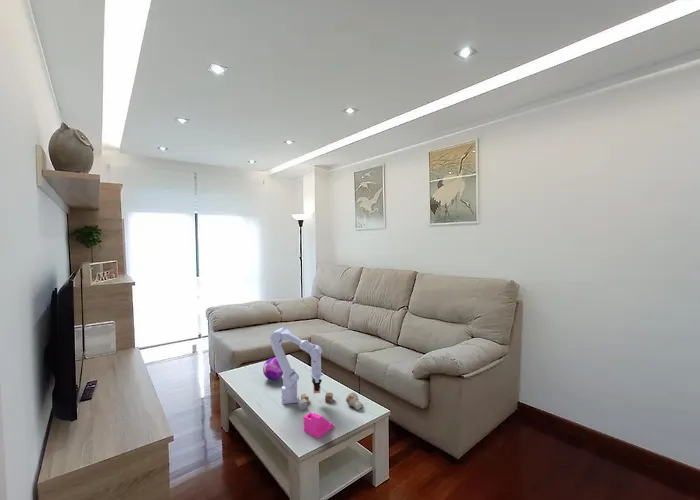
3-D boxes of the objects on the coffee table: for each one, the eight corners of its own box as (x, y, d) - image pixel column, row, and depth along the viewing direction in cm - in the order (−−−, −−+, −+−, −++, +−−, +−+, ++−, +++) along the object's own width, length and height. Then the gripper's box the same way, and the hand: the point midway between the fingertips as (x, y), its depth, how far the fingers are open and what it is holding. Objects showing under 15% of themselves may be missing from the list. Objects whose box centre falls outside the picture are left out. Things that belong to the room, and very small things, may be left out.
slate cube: (300, 410, 185) (300, 403, 185) (298, 406, 188) (298, 400, 188) (307, 408, 187) (306, 401, 187) (304, 404, 190) (304, 398, 190)
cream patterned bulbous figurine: (355, 413, 181) (348, 396, 183) (349, 412, 189) (342, 396, 192) (366, 406, 184) (359, 389, 187) (360, 406, 193) (353, 390, 195)
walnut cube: (325, 402, 193) (325, 395, 193) (326, 398, 197) (326, 392, 197) (331, 402, 192) (331, 396, 192) (332, 399, 196) (332, 392, 196)
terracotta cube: (313, 393, 189) (313, 386, 189) (313, 390, 193) (313, 383, 192) (320, 392, 189) (320, 386, 189) (319, 389, 193) (319, 383, 193)
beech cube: (302, 404, 191) (302, 397, 191) (300, 400, 195) (300, 394, 195) (308, 402, 192) (308, 396, 192) (307, 399, 196) (307, 393, 196)
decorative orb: (289, 377, 227) (289, 356, 226) (274, 386, 214) (273, 364, 213) (274, 372, 235) (274, 352, 234) (258, 380, 222) (258, 359, 221)
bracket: (319, 438, 159) (318, 418, 158) (303, 431, 165) (303, 412, 164) (334, 426, 169) (333, 407, 168) (319, 420, 175) (319, 401, 174)
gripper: (324, 371, 184) (324, 394, 184) (321, 361, 198) (322, 382, 199) (311, 372, 183) (312, 395, 183) (310, 362, 197) (310, 383, 198)
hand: (316, 389), depth 191 cm, fingers closed on terracotta cube, 4 cm apart
